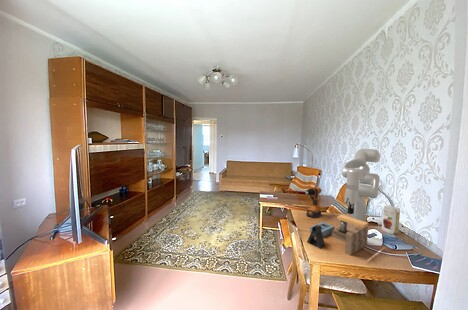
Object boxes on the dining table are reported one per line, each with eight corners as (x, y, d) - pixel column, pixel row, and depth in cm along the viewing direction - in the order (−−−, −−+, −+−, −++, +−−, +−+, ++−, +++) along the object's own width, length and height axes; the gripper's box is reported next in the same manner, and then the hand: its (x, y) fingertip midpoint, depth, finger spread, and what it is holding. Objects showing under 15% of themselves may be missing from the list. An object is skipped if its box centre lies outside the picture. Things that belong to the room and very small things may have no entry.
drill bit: (341, 235, 135) (342, 218, 134) (347, 237, 132) (348, 220, 131) (338, 236, 133) (339, 219, 132) (344, 239, 130) (345, 221, 129)
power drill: (309, 220, 162) (311, 190, 160) (301, 217, 168) (303, 189, 166) (322, 214, 175) (324, 187, 173) (314, 212, 181) (316, 185, 179)
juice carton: (386, 228, 149) (388, 204, 148) (399, 233, 141) (401, 208, 140) (380, 230, 147) (382, 205, 145) (392, 235, 139) (394, 209, 137)
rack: (322, 228, 148) (322, 221, 147) (334, 233, 140) (334, 226, 140) (309, 233, 139) (310, 226, 138) (321, 239, 131) (322, 232, 131)
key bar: (341, 217, 136) (341, 214, 136) (367, 225, 123) (367, 222, 122) (337, 219, 132) (337, 216, 132) (363, 228, 119) (363, 224, 119)
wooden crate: (339, 233, 140) (340, 216, 138) (367, 245, 125) (369, 225, 124) (320, 242, 126) (321, 223, 125) (350, 256, 112) (351, 235, 111)
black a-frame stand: (325, 245, 123) (326, 227, 122) (320, 248, 120) (321, 229, 119) (311, 239, 130) (312, 222, 129) (306, 242, 127) (307, 224, 126)
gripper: (351, 185, 142) (350, 209, 143) (341, 187, 134) (339, 213, 135) (363, 187, 136) (361, 213, 137) (353, 189, 128) (351, 217, 129)
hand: (350, 213), depth 136 cm, fingers closed
